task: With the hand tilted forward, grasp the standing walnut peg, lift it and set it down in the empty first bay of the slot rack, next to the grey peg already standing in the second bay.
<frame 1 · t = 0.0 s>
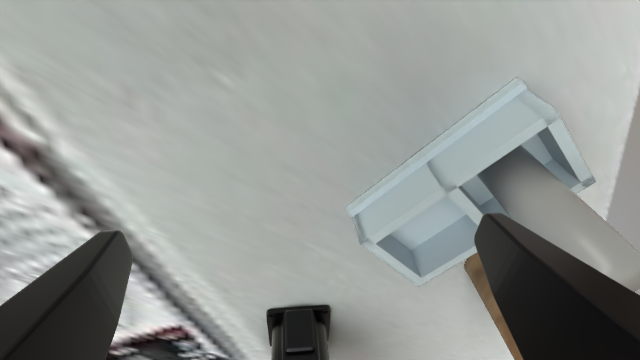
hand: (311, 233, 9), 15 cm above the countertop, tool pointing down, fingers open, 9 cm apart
slot rack: (452, 182, 27), on the countertop
grey peg: (498, 160, 25), point 1 cm above the countertop, touching slot rack
walnut peg: (482, 261, 34), on the countertop
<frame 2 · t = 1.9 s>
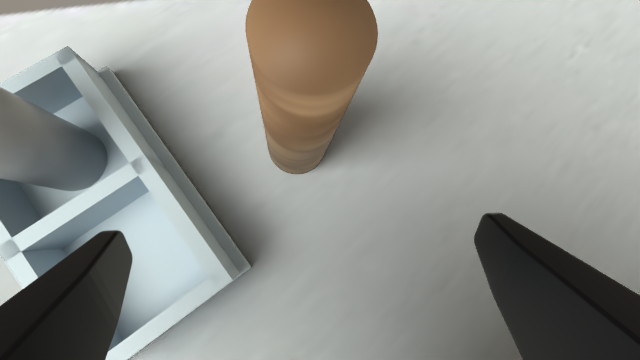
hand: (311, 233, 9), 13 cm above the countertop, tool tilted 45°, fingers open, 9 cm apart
slot rack: (115, 210, 20), on the countertop
grey peg: (74, 160, 20), point 1 cm above the countertop, touching slot rack
walnut peg: (296, 146, 22), on the countertop
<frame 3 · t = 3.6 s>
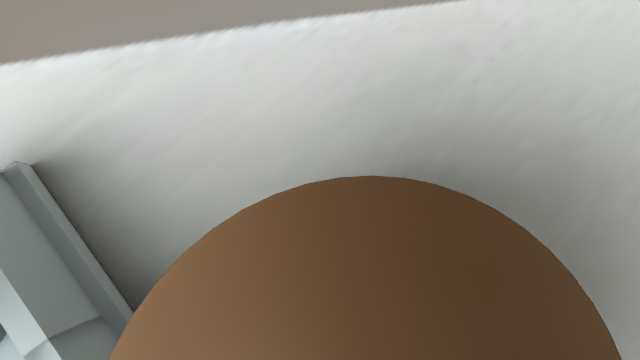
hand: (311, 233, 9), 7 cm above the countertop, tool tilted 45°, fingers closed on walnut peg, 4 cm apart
walnut peg: (303, 265, 15), on the countertop, touching gripper
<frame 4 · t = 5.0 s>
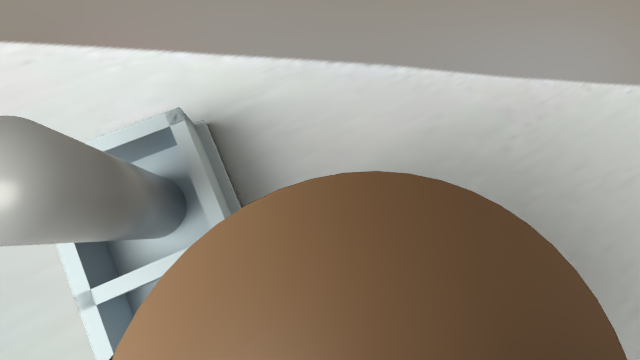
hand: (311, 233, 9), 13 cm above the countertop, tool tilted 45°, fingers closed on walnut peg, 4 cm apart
slot rack: (180, 262, 21), on the countertop
grey peg: (154, 207, 20), point 1 cm above the countertop, touching slot rack
walnut peg: (304, 265, 15), point 6 cm above the countertop, touching gripper
when the fingers open (8 cm above the countertop, at t = 6.6 s): walnut peg drops 1 cm, resting on slot rack.
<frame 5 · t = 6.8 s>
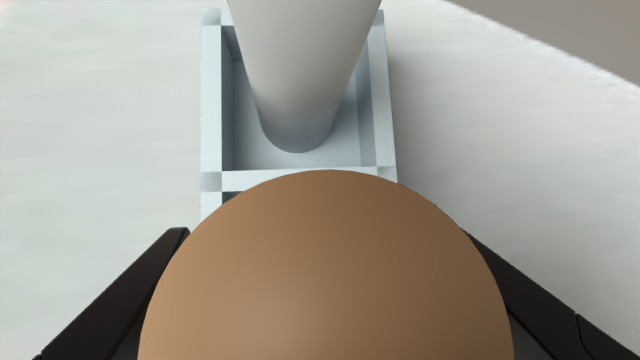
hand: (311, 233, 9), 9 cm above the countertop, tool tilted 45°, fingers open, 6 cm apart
slot rack: (298, 190, 17), on the countertop
grey peg: (296, 118, 17), point 1 cm above the countertop, touching slot rack
walnut peg: (303, 263, 16), point 1 cm above the countertop, touching slot rack
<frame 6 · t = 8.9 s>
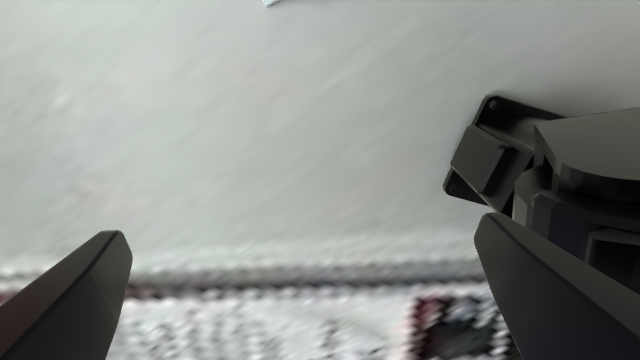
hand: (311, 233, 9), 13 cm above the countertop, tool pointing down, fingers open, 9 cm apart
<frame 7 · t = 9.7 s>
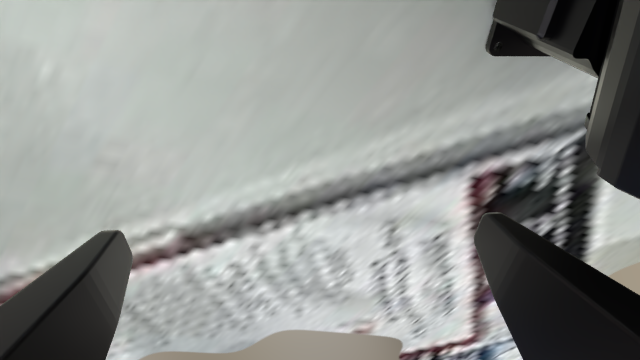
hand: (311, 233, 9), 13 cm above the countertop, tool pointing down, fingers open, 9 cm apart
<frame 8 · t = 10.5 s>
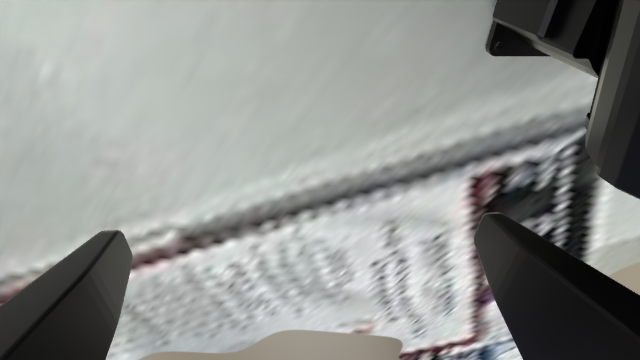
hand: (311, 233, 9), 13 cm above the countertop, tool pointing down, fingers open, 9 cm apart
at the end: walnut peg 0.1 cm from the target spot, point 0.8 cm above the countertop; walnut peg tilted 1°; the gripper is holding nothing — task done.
